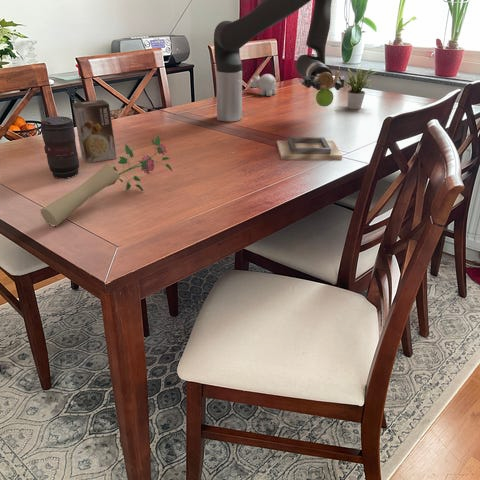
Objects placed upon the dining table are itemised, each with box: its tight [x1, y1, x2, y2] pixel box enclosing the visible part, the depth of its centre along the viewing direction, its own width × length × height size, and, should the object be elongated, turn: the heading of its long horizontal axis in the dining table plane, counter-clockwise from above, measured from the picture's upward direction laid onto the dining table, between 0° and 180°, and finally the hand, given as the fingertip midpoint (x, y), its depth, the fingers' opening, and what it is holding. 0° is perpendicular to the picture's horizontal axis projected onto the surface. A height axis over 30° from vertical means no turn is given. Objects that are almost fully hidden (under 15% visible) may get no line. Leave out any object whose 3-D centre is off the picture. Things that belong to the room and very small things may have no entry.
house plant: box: [344, 65, 378, 110], centre depth 193 cm, size 14×14×16 cm
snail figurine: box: [315, 66, 341, 108], centre depth 151 cm, size 5×6×12 cm
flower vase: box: [40, 135, 173, 227], centre depth 117 cm, size 12×12×35 cm
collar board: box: [276, 136, 343, 160], centre depth 150 cm, size 18×14×3 cm
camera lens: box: [40, 115, 80, 179], centre depth 129 cm, size 8×8×15 cm
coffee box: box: [71, 99, 118, 164], centre depth 140 cm, size 9×6×16 cm
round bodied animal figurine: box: [250, 73, 277, 97], centre depth 215 cm, size 8×12×9 cm, turn 54°
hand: (328, 86), depth 149 cm, fingers closed on snail figurine, 5 cm apart
